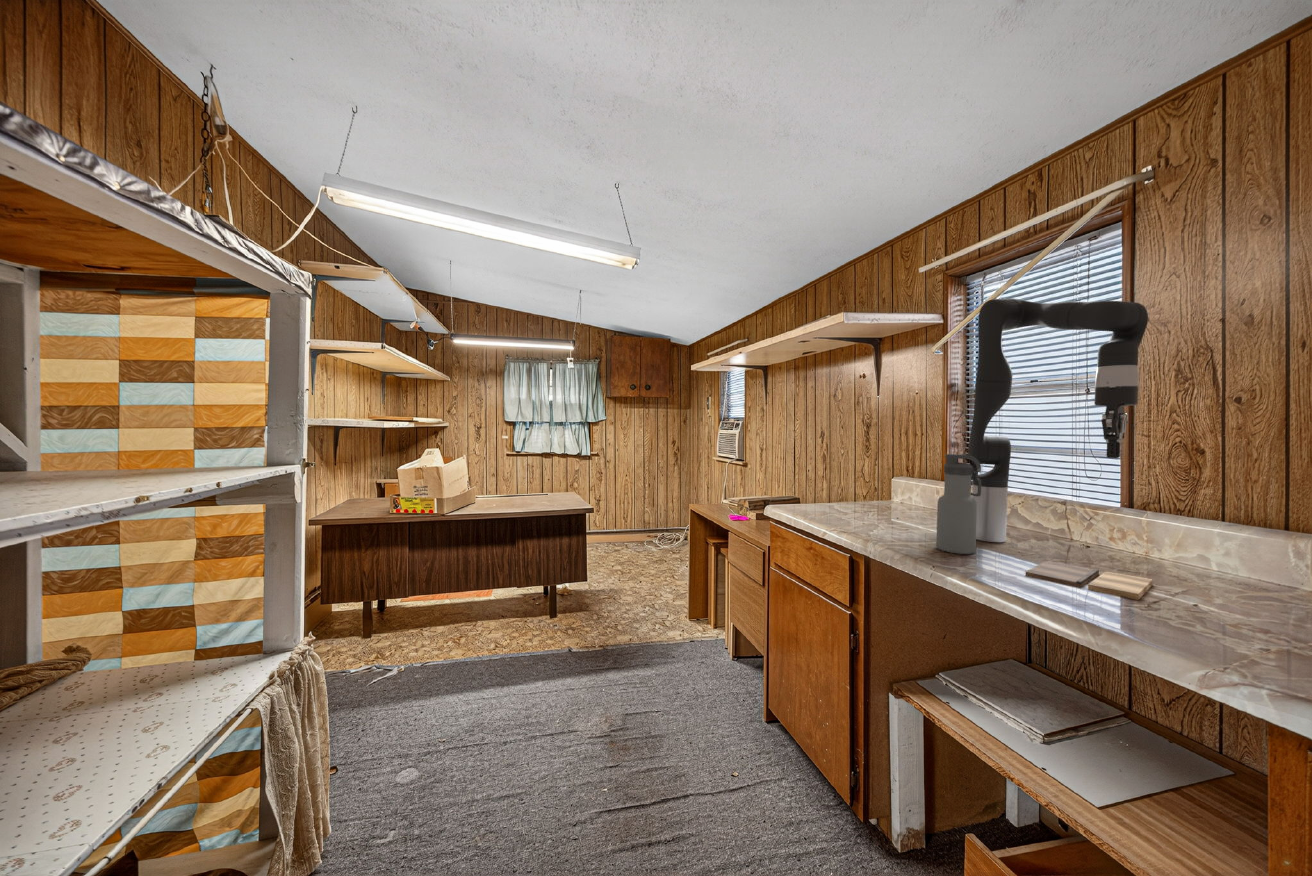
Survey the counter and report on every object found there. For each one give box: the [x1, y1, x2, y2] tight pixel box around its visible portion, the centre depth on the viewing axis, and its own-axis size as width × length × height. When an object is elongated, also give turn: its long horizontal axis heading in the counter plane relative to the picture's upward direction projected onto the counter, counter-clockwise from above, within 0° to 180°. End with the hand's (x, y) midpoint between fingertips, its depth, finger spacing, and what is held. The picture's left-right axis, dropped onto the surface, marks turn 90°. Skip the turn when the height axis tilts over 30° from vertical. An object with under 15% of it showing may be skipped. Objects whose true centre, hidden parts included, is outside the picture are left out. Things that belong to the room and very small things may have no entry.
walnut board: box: [1024, 560, 1100, 589], centre depth 114 cm, size 16×10×2 cm, turn 127°
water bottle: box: [935, 453, 982, 555], centre depth 139 cm, size 10×10×28 cm
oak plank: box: [1087, 571, 1154, 601], centre depth 106 cm, size 16×8×2 cm, turn 127°
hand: (1113, 457), depth 116 cm, fingers closed
